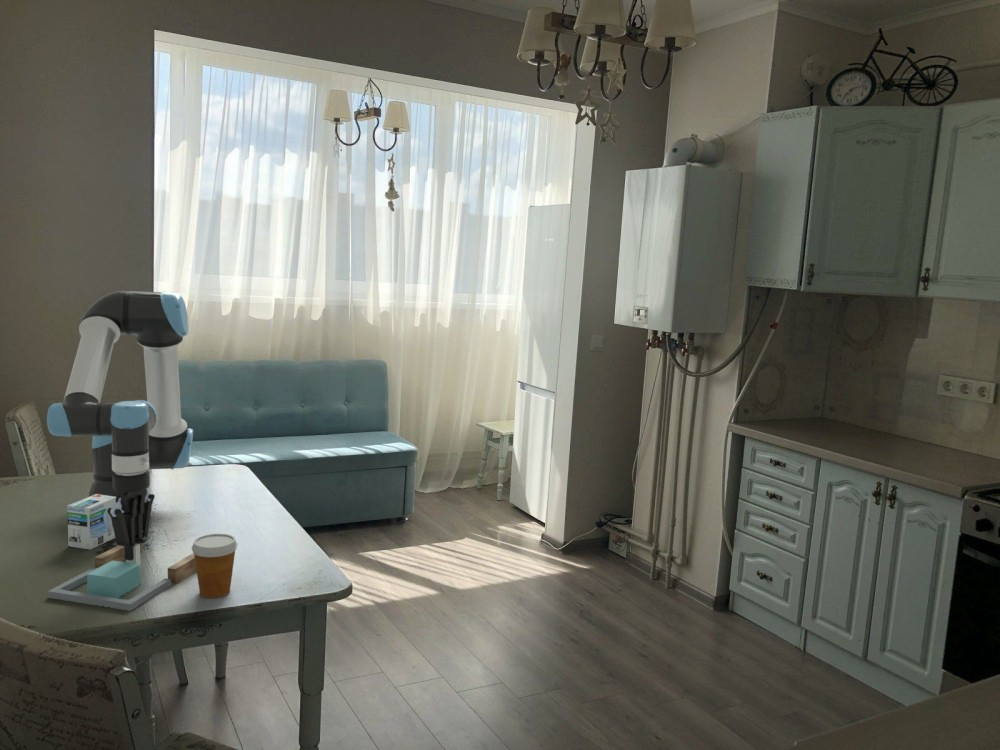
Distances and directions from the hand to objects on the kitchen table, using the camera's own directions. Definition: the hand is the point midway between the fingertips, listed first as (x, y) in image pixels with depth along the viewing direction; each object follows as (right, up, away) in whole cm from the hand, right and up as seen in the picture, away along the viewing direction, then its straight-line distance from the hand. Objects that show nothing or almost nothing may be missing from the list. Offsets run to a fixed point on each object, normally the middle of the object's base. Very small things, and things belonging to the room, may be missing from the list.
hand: (133, 571), depth 178 cm
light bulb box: (-20, +2, +21) cm, 29 cm away
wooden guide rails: (+2, -1, +7) cm, 7 cm away
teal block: (-1, -3, -6) cm, 7 cm away
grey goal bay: (-1, -2, -6) cm, 7 cm away
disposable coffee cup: (+20, -4, -5) cm, 21 cm away
